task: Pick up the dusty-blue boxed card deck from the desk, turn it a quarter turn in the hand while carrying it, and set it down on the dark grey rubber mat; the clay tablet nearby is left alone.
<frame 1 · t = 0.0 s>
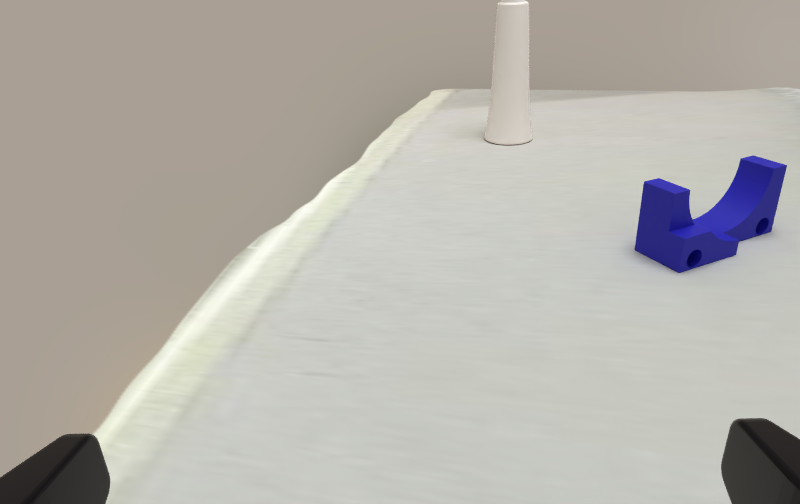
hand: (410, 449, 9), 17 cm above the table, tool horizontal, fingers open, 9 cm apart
cosmetic bottle: (508, 139, 80), on the table
cable clip: (710, 248, 51), on the table
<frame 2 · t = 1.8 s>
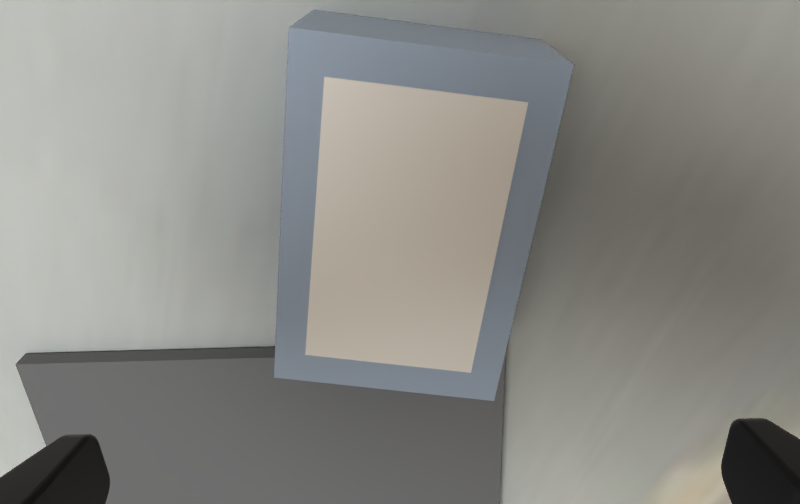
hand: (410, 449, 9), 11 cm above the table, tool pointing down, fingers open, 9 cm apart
mat: (280, 460, 23), on the table
card deck: (406, 182, 19), on the table
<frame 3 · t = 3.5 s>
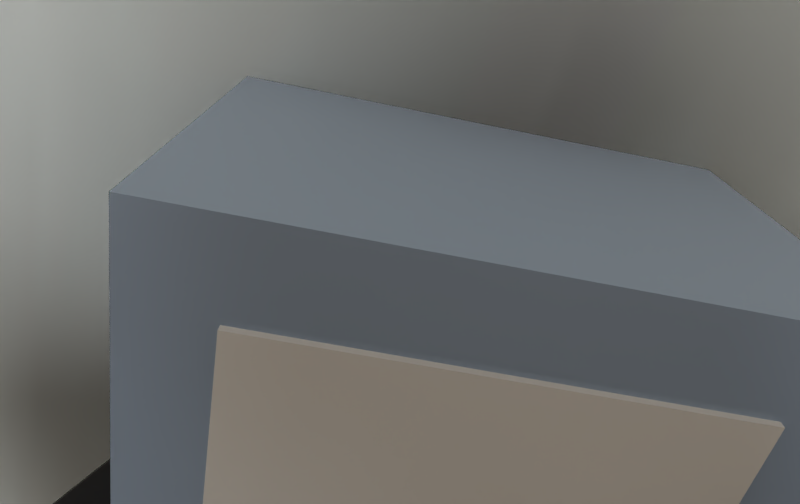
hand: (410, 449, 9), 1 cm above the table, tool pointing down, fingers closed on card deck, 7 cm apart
card deck: (411, 400, 10), on the table, touching gripper
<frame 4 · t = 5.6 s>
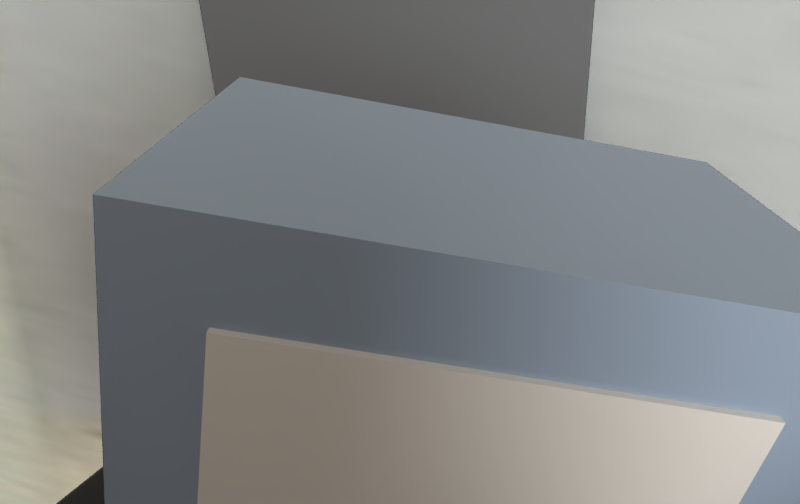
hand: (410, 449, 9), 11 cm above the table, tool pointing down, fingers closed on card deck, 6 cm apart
mat: (405, 183, 19), on the table
card deck: (412, 400, 10), point 10 cm above the table, touching gripper
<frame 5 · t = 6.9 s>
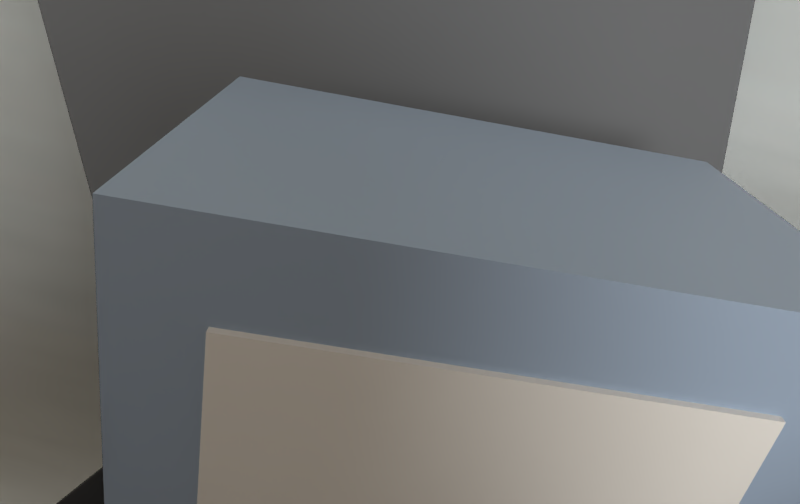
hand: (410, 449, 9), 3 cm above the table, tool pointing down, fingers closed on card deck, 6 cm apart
mat: (408, 321, 12), on the table
card deck: (412, 399, 10), point 2 cm above the table, touching gripper
when the fingers open (3 cm above the table, at t = 8.0 s): card deck stays where it is, resting on mat.
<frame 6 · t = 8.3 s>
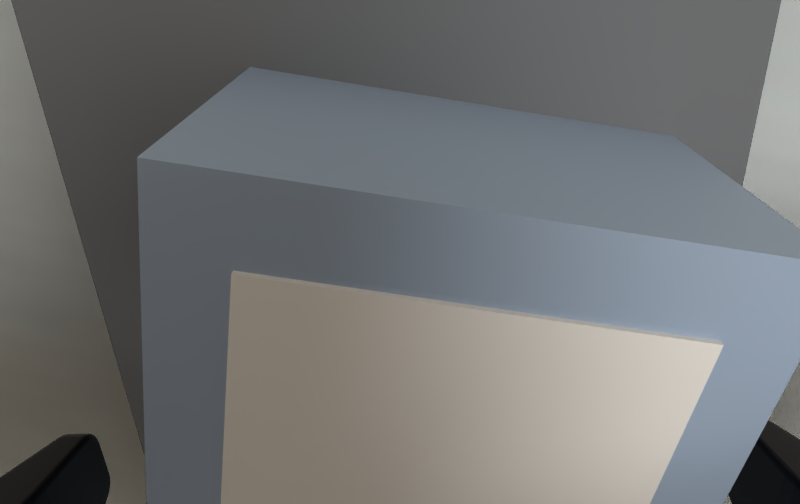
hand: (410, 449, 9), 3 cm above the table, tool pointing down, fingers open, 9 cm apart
mat: (409, 343, 11), on the table
card deck: (412, 363, 11), point 1 cm above the table, touching mat
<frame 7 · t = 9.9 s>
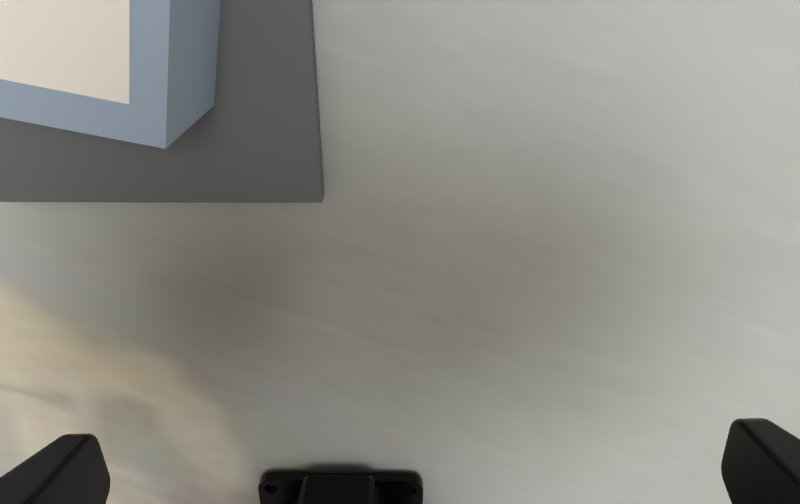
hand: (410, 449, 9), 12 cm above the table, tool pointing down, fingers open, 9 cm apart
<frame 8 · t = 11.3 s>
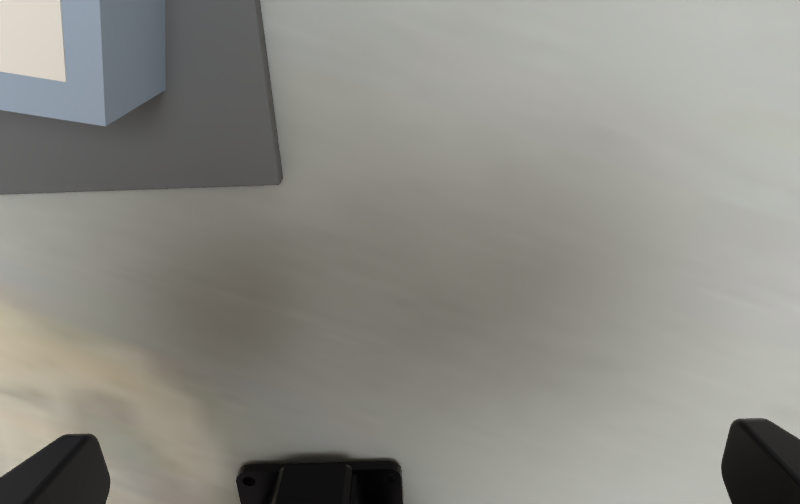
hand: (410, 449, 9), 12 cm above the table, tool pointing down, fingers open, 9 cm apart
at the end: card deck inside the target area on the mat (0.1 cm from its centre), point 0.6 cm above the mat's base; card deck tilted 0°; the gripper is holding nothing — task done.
